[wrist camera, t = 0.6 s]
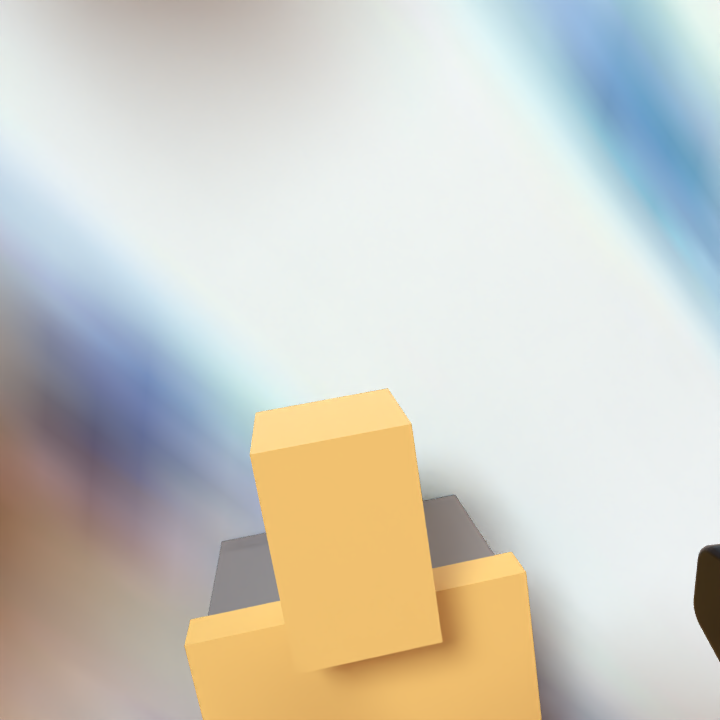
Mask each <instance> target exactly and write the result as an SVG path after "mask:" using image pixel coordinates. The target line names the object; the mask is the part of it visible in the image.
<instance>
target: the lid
mask: <svg viewBox="0 0 720 720" xmlns="http://www.w3.org/2000/svg"><path fill="white" fill-rule="evenodd" d="M250 458H251V463H252V467H253V472H254V477H255V482H256V487H257V492H258V496H259V501H260V506H261V511H262V516H263V521H264V525H265V530H266V535H267V540H268V545H269V550H270V554H271V559H272V564H273V569H274V574H275V578H276V583H277V588H278V593H279V598H280V601H276V602H271V603H267V604H262V605H257V606H253V607H248V608H243V609H238V610H234V611H229V612H224V613H219V614H215V615H210V616H205V617H201V618H196V619H191V620H190V624H189V628H188V632H187V637H186V641H185V645H184V646H185V650H186V654H187V658H188V662H189V666H190V670H191V674H192V678H193V682H194V686H195V690H196V694H197V698H198V702H199V706H200V710H201V714H202V718H203V720H541V710H540V700H539V691H538V681H537V672H536V662H535V653H534V643H533V633H532V624H531V614H530V605H529V595H528V586H527V576H526V571H525V570H524V569H523V567H522V566H521V564H520V563H519V562H518V560H517V559H516V557H515V556H514V555H513V553H512V552H508V553H503V554H498V555H494V556H489V557H484V558H480V559H475V560H470V561H465V562H461V563H456V564H451V565H446V566H442V567H437V568H432V564H431V557H430V550H429V543H428V536H427V529H426V522H425V515H424V508H423V501H422V494H421V487H420V480H419V473H418V466H417V459H416V452H415V445H414V438H413V431H412V424H411V422H410V421H409V419H408V418H407V416H406V415H405V413H404V412H403V410H402V409H401V407H400V406H399V404H398V403H397V401H396V400H395V398H394V397H393V395H392V394H391V392H390V391H389V389H388V388H387V389H382V390H376V391H371V392H365V393H360V394H354V395H349V396H344V397H338V398H333V399H327V400H322V401H316V402H311V403H305V404H300V405H295V406H289V407H284V408H278V409H273V410H267V411H262V412H257V413H256V414H255V421H254V428H253V435H252V443H251V450H250Z"/></svg>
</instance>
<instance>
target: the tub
mask: <svg viewBox="0 0 720 720" xmlns="http://www.w3.org/2000/svg"><path fill="white" fill-rule="evenodd" d="M423 508H424V515H425V522H426V529H427V536H428V543H429V550H430V557H431V564H432V568H437V567H442V566H446V565H451V564H456V563H461V562H465V561H470V560H475V559H480V558H484V557H489V556H494V554H493V552H492V551H491V549H490V548H489V546H488V544H487V543H486V541H485V540H484V538H483V537H482V535H481V534H480V532H479V531H478V529H477V528H476V526H475V525H474V523H473V522H472V520H471V518H470V517H469V515H468V514H467V512H466V511H465V509H464V508H463V506H462V505H461V503H460V502H459V500H458V499H457V497H456V496H455V495H451V496H446V497H441V498H436V499H431V500H426V501H423ZM276 601H280V598H279V593H278V588H277V583H276V578H275V574H274V569H273V564H272V559H271V554H270V550H269V545H268V540H267V535H266V533H262V534H257V535H252V536H248V537H243V538H238V539H233V540H228V541H223V542H222V544H221V549H220V554H219V560H218V565H217V570H216V575H215V581H214V586H213V591H212V596H211V602H210V607H209V612H208V616H210V615H215V614H219V613H224V612H229V611H234V610H238V609H243V608H248V607H253V606H257V605H262V604H267V603H271V602H276Z"/></svg>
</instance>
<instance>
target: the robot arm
mask: <svg viewBox="0 0 720 720" xmlns="http://www.w3.org/2000/svg"><path fill="white" fill-rule="evenodd" d="M694 610H695V614H696V617H697V620H698V622H699V625H700V627H701V628H702V630H703V632H704V634H705V636H706V638H707V639H708V641H709V643H710V645H711V647H712V648H713V650H714V652H715V654H716V656H717V658H718V659H719V661H720V544H716V545H708V546H705V547H704V548H702V549H701V551H700V553H699V556H698V562H697V572H696V582H695V592H694Z"/></svg>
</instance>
